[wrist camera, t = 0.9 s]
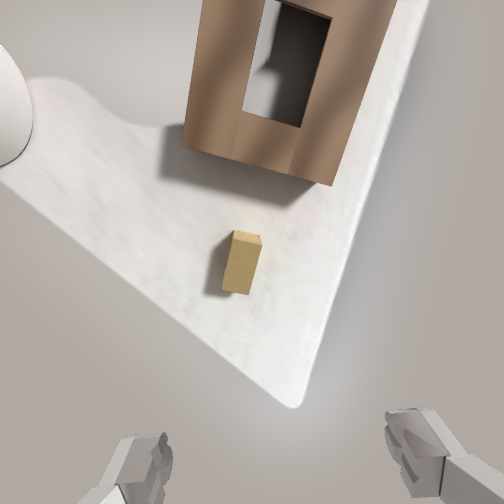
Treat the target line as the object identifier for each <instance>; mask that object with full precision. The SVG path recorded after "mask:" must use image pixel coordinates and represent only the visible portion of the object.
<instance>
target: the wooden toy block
mask: <svg viewBox="0 0 504 504" xmlns="http://www.w3.org/2000/svg"><path fill="white" fill-rule="evenodd" d="M261 248H262V242H261V239H260V236H259V235H255V234H250V233H246V232H241V231H237V230H234V232H233V237H232V241H231V245H230V250H229V254H228V258H227V263H226V267H225V271H224V276H223V283H222V290H224V291H229V292H235V293H240V294H245V295H249V291H250V288H251V284H252V280H253V277H254V273H255V269H256V266H257V262H258V258H259V255H260V251H261Z"/></svg>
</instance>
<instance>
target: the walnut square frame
mask: <svg viewBox="0 0 504 504" xmlns="http://www.w3.org/2000/svg"><path fill="white" fill-rule="evenodd" d="M276 1H279V2H282V3H284V4H287V5H290V6H293V7H295V8H298V9H301V10H304V11H306V12H309V13H312V14H315V15H317V16H320V17H323V18H326V19H328V20H331V22H330V25H329V29H328V32H327V35H326V39H325V42H324V46H323V49H322V53H321V56H320V60H319V63H318V67H317V70H316V73H315V77H314V80H313V84H312V87H311V91H310V94H309V98H308V101H307V105H306V108H305V111H304V115H303V118H302V122H301V125H300V128H298V127H295V126H291V125H288V124H284V123H281V122H278V121H274V120H271V119H268V118H264V117H261V116H258V115H254V114H251V113H248V112H244V111H241V110H242V106H243V101H244V96H245V92H246V87H247V82H248V78H249V73H250V68H251V64H252V59H253V55H254V50H255V45H256V40H257V36H258V31H259V27H260V22H261V17H262V13H263V8H264V3H265V0H203V5H202V11H201V18H200V24H199V31H198V38H197V44H196V51H195V57H194V64H193V71H192V78H191V84H190V91H189V97H188V104H187V111H186V117H185V124H184V130H183V137H182V144H181V146H183V147H187V148H191V149H194V150H198V151H202V152H206V153H209V154H213V155H217V156H220V157H224V158H228V159H232V160H235V161H239V162H243V163H246V164H250V165H254V166H257V167H261V168H265V169H269V170H272V171H276V172H280V173H283V174H287V175H291V176H294V177H298V178H302V179H306V180H309V181H313V182H317V183H320V184H324V185H328V186H331V187H332V184H333V181H334V178H335V176H336V173H337V170H338V167H339V164H340V161H341V159H342V156H343V153H344V150H345V147H346V144H347V141H348V139H349V136H350V133H351V130H352V127H353V124H354V122H355V119H356V116H357V113H358V110H359V107H360V105H361V102H362V99H363V96H364V93H365V90H366V87H367V85H368V82H369V79H370V76H371V73H372V70H373V68H374V65H375V62H376V59H377V56H378V53H379V51H380V48H381V45H382V42H383V39H384V36H385V34H386V31H387V28H388V25H389V22H390V19H391V16H392V14H393V11H394V8H395V5H396V2H397V0H276Z"/></svg>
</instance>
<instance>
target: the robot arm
mask: <svg viewBox="0 0 504 504" xmlns="http://www.w3.org/2000/svg"><path fill="white" fill-rule="evenodd" d="M32 124H33V110H32V103H31V98H30V94H29V91H28V88H27V85H26V83H25V81H24V78H23V76H22V74H21V72H20V70H19V69H18V67H17V65H16V64H15V62H14V61H13V59H12V58H11V57H10V55H9V54H8V53H7V51H6V50H5V49H4V48H3V47H2V46H1V45H0V166H1V165H3V164H6V163H8V162H10V161H11V160H13V159H14V158H16V157H17V156H18V155H19V154H20V153H21V152H22V150H23V149H24V148H25V146H26V144H27V142H28V140H29V137H30V134H31V130H32ZM385 419H386V421H387V423H388V425H387V426H386V427H385V438H386V442H387V445H388V448H389V451H390V453H391V455H392V457H393V459H394V460H395V461H396V462H397V463H399V464H400V465H401V476H402V478H403V480H404V482H405V484H406V486H407V488H408V490H409V492H410V494H411V496H412V498H419V497H440V499H441V500H442V501H443V502H444V503H445V504H504V475H503V474H501V473H500V472H498V471H497V470H495V469H494V468H492V467H491V466H489V465H488V464H486V463H485V462H483V461H482V460H480V459H479V458H477V457H476V456H474V455H468V454H467V453H466V451H465V450H464V449H463V447H462V446H461V445H460V443H459V442H458V441H457V439H456V438H455V437H454V436H453V434H452V433H451V432H450V430H449V429H448V428H447V426H446V425H445V424H444V423H443V421H442V420H441V418H440V417H439V416H438V414H437V413H436V412H435V411H434V410H433V409H432V408H431V407H422V408H408V409H399V410H390V411H387V412H386V413H385ZM167 440H168V437H167V435H166V433H165V432H164V433H149V434H135V435H125V436H124V437H123V438H122V439H121V441H120V443H119V445H118V447H117V449H116V451H115V453H114V455H113V457H112V459H111V461H110V463H109V465H108V467H107V469H106V471H105V473H104V475H103V477H102V479H101V481H100V483H99V485H98V486H97V487H93V488H92V489H91V490H90V491H89V492H88V493H87V494H86V495H85V496H84V497H83V498H82V499H81V500H80V501H79V502H78V503H77V504H163V500H164V497H165V491H164V488H163V486H164V485H165V483H166V482H167V481H168V480H169V478H170V474H171V470H172V463H173V455H172V450H171V447H170V446H168V445H167Z"/></svg>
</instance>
